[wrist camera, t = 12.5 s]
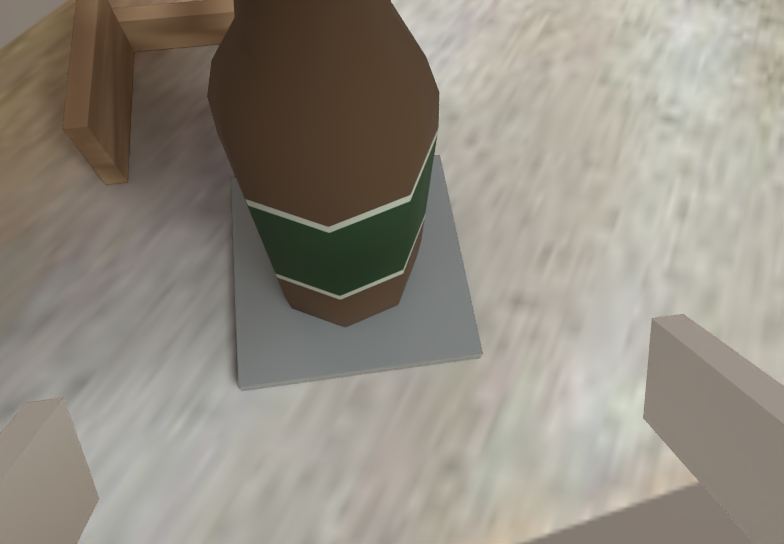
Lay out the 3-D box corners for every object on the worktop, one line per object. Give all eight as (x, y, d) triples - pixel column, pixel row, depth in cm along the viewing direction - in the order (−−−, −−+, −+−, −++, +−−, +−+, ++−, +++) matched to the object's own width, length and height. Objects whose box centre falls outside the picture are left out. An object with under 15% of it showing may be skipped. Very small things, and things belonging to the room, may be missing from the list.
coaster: (438, 162, 34) (439, 154, 33) (480, 358, 29) (482, 353, 28) (233, 185, 33) (230, 177, 32) (241, 390, 28) (238, 387, 27)
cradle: (306, 22, 38) (296, -46, 34) (322, 161, 34) (313, 103, 29) (115, 39, 37) (79, -29, 33) (106, 184, 33) (62, 128, 28)
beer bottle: (414, 196, 32) (492, -524, 10) (423, 329, 29) (565, -301, 7) (274, 200, 32) (39, -535, 10) (267, 334, 28) (-101, -306, 7)
